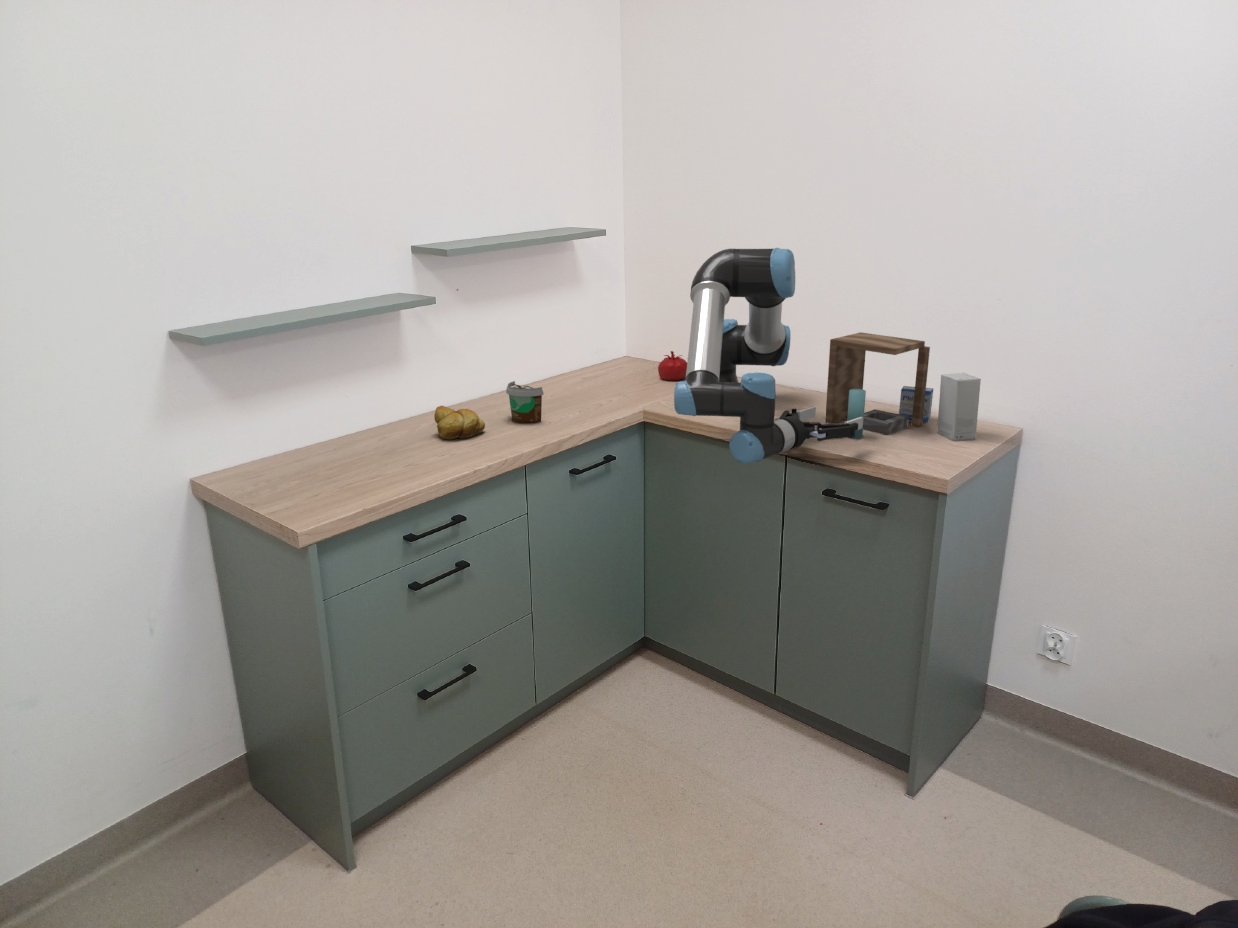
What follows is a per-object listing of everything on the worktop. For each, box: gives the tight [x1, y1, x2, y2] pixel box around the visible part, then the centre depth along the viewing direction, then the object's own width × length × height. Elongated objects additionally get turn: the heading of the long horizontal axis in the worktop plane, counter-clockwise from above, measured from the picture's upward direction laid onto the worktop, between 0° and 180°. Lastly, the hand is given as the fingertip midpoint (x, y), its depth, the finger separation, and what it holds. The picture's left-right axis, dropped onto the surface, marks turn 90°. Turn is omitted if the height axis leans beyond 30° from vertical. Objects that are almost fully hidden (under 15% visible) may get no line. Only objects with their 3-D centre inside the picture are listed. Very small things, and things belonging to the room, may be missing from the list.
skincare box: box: [936, 372, 982, 442], centre depth 218 cm, size 8×7×16 cm
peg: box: [846, 389, 867, 440], centre depth 220 cm, size 4×4×12 cm
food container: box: [505, 380, 544, 425], centre depth 239 cm, size 12×6×10 cm, turn 47°
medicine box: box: [898, 385, 934, 423], centre depth 235 cm, size 8×4×9 cm, turn 65°
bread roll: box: [434, 405, 486, 440], centre depth 227 cm, size 13×10×8 cm
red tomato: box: [657, 350, 688, 382], centre depth 285 cm, size 10×10×9 cm
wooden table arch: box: [824, 332, 931, 436], centre depth 229 cm, size 15×20×22 cm
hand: (837, 417), depth 214 cm, fingers open, 13 cm apart
